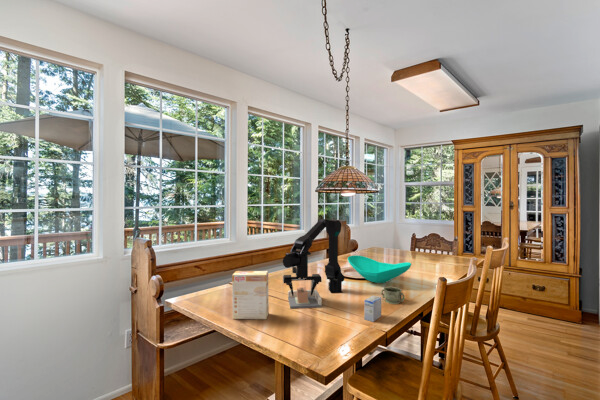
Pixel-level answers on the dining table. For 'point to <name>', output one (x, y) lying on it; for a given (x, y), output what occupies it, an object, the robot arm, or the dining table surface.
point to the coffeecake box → (250, 295)
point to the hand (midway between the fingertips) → (302, 295)
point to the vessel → (392, 295)
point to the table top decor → (377, 268)
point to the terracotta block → (302, 295)
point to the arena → (312, 303)
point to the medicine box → (372, 308)
